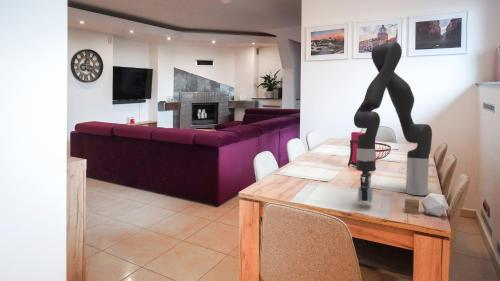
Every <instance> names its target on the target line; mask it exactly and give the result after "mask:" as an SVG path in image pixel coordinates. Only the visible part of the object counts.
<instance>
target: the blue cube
mask: <svg viewBox="0 0 500 281" xmlns="http://www.w3.org/2000/svg"><path fill="white" fill-rule="evenodd" d="M363 188H366V187H363ZM360 189H361V186H359V188H358V196H357V197H358V202H364V201H363V200H362V191H361V190H360ZM372 201H373V187H370V188H369V187H368V197H367V201H365V202H368V203H372Z"/></svg>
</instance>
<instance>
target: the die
mask: <svg viewBox="0 0 500 281" xmlns="http://www.w3.org/2000/svg"><path fill="white" fill-rule="evenodd" d="M420 203H421V206H422V207H423V210H424V212H425V214H427V215H430V216H435V217H441V216H442V215H443V214H444V213H446V212H447V211H448V210H450V207H449V204H448V202H447V200H446V196H445V195H444V194H439V193H431V192H430V193H428V194H427V195H425V197H424V198H422V199H421V200H420Z"/></svg>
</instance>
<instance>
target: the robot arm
mask: <svg viewBox="0 0 500 281" xmlns="http://www.w3.org/2000/svg"><path fill="white" fill-rule="evenodd" d="M402 52H403V50H402V47H401V44H400V43H399V42H397V41H389V42H385V43H382V44H381V43H380V44H378V45H376V46H373V48H372V49H371V52H370V53H371V59H372V62H373V64H374V66H375V68H376V70H377V72H378V73H377V74H376V76H375V77H374V78H373V80H371V82H370V84H369V85H368V87H367V89H366V92H365V95H364V98H363V101H362V102H361V104H360V105H359V107H358V108H357V110H356V112H355V114H354V115H353V124H354V126H355V127H356V128H359V129H365V132H364V133H361V134H359V135H358V136H357V149H356V170H357V171H360V172H362V173H361V174H360V176H359V178H360V187H361V189H360V190H361V191H362V200H363V201H362V202H366V201H367V197H368V187H369V188H371V183H372V182H371V181H372V174H371V172H375V171H376V162H377V161H376V158H377V156H376V155H377V154H376V138H377V136H378V135H377V134H378V131H379V128H380V125H381V117H380V114H379V113H378V112H376V111H375V110H377V109H379V108H380V107H381V105H382V101H383V99H384V98H383V97H384V94H385V92H386V90H387V93H388V95H389V98H390V100H391V103H392V105H393V108H394V110H395V112H396V115H397V117H398V120H399V123H400V127H401V130H402V131H401V132H402V134H403V137H404V140H405V141H406V142H408V143H411V144H417V145H416V147H415V148H414V149H412V150H408V151H407V152H406V153H407V154H406V156H407V157H406V178H405V180H406V182H405V193H406V194H409V195H413V196H427V195H428V194H429V193H428V191H429V188H428V187H429V168H430V167H429V166H430V153H431V150H432V142H433V141H432V139H433V131H432V127H431V126H430V125H429V124H427V123H424V124H423V123H415V122H414V121H413V118H412V112H413V111H412V110H413V108H414V105H415V97H414V93H413V90H412V88H411V86H410V85H409V83H408V82H407V81H406V80H404V79H403V78H402V77H401V76H400V75H398V74H397V73H396V72H395V70H396V68H397V66H398V65H399V62H400V60H401V57H402ZM363 187H366V188H363Z"/></svg>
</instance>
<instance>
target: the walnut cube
mask: <svg viewBox="0 0 500 281" xmlns="http://www.w3.org/2000/svg"><path fill="white" fill-rule="evenodd" d="M404 199H405V200H404V214H410V215H411V214H412V215H420V213H419V212H420V200H419V199H415V198H404Z"/></svg>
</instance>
